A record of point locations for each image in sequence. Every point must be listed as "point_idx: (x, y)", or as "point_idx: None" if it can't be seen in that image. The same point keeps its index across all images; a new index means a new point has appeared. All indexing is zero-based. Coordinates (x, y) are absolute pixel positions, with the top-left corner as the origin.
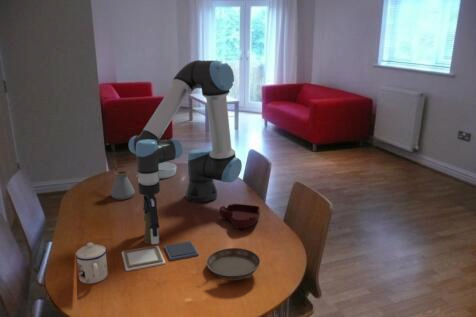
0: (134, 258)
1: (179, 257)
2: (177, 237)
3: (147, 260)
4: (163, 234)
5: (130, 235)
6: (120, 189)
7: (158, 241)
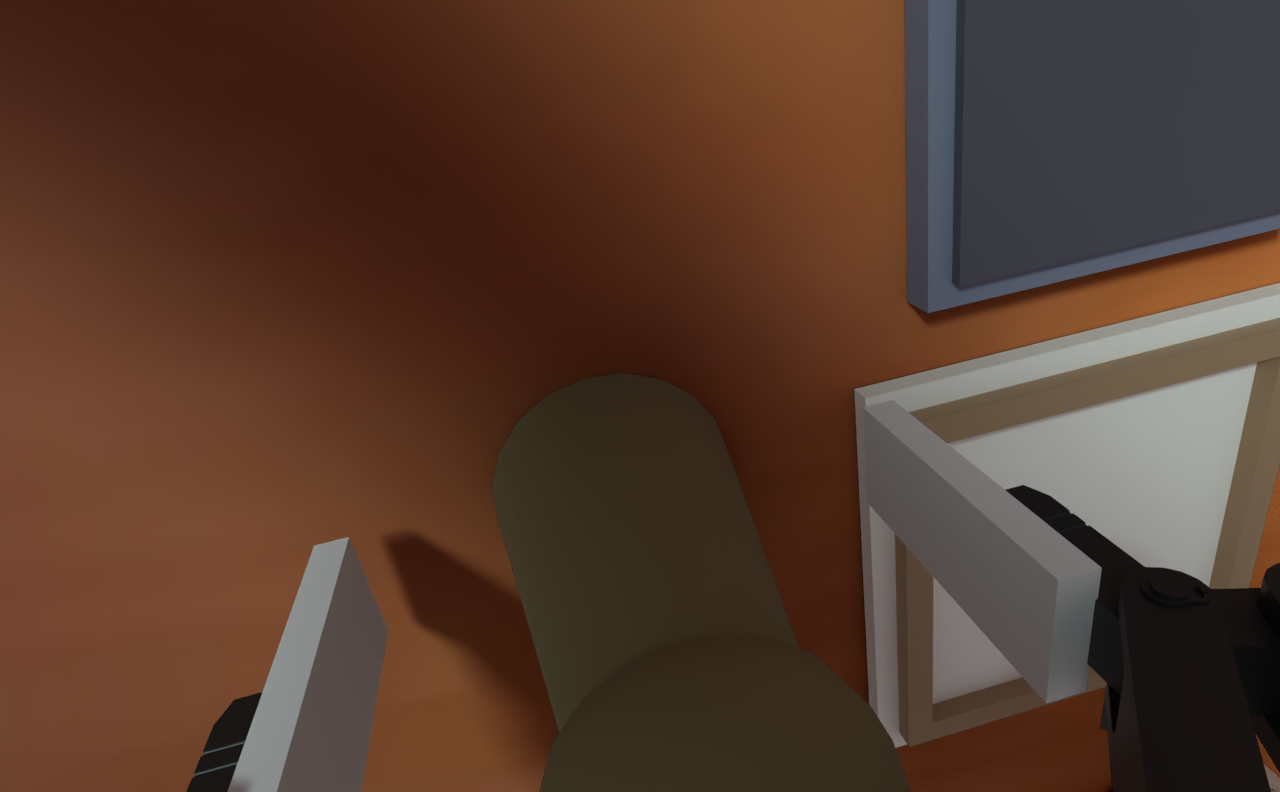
0: None
1: None
2: (594, 73)
3: (1175, 485)
4: (431, 333)
5: (421, 756)
6: None
7: (908, 419)
